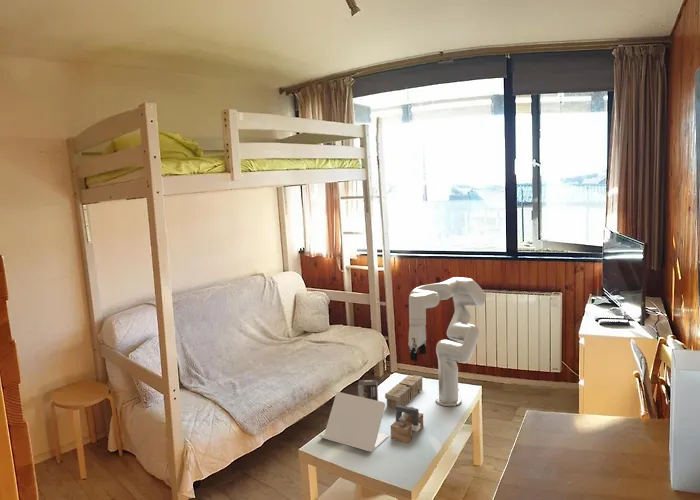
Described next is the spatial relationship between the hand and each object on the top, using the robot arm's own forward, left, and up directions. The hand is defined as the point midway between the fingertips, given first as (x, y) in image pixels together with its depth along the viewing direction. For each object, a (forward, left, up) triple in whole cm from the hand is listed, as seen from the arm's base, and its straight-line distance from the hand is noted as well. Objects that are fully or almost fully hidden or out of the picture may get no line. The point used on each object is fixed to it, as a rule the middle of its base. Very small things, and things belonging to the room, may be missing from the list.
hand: (418, 357), depth 239 cm
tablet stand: (+29, -18, -31) cm, 46 cm away
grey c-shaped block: (+13, 0, -28) cm, 31 cm away
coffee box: (+5, -24, -31) cm, 39 cm away
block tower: (-18, -16, -31) cm, 39 cm away
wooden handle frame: (+14, 0, -30) cm, 33 cm away
